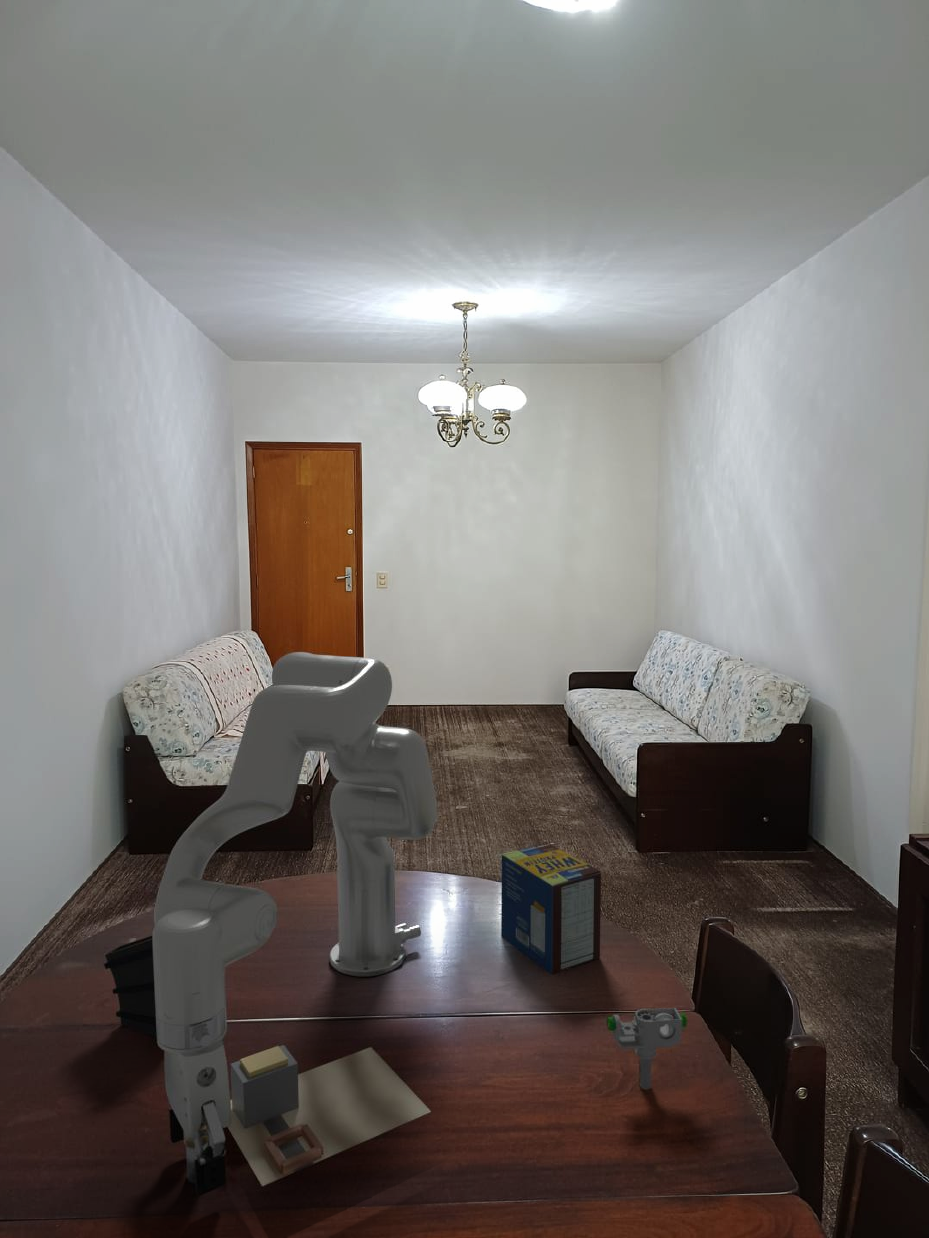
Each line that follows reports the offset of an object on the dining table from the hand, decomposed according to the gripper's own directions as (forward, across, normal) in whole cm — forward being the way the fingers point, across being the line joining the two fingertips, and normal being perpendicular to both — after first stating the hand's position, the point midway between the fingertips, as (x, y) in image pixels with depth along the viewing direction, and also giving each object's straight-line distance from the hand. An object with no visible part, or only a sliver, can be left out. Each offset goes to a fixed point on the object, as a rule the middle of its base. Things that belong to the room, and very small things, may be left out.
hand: (197, 1162), depth 102 cm
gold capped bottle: (+2, 0, 0) cm, 2 cm away
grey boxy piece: (0, +5, -10) cm, 11 cm away
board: (+2, +1, -16) cm, 16 cm away
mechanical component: (+2, -17, -54) cm, 57 cm away
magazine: (+2, +33, -3) cm, 33 cm away
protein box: (+2, +19, -67) cm, 70 cm away
